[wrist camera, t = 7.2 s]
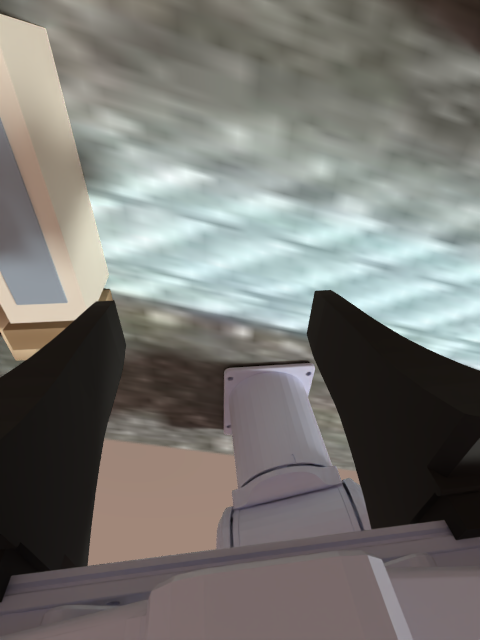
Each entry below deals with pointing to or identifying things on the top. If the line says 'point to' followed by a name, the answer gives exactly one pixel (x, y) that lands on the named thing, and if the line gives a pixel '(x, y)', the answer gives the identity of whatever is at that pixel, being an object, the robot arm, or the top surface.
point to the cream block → (41, 190)
